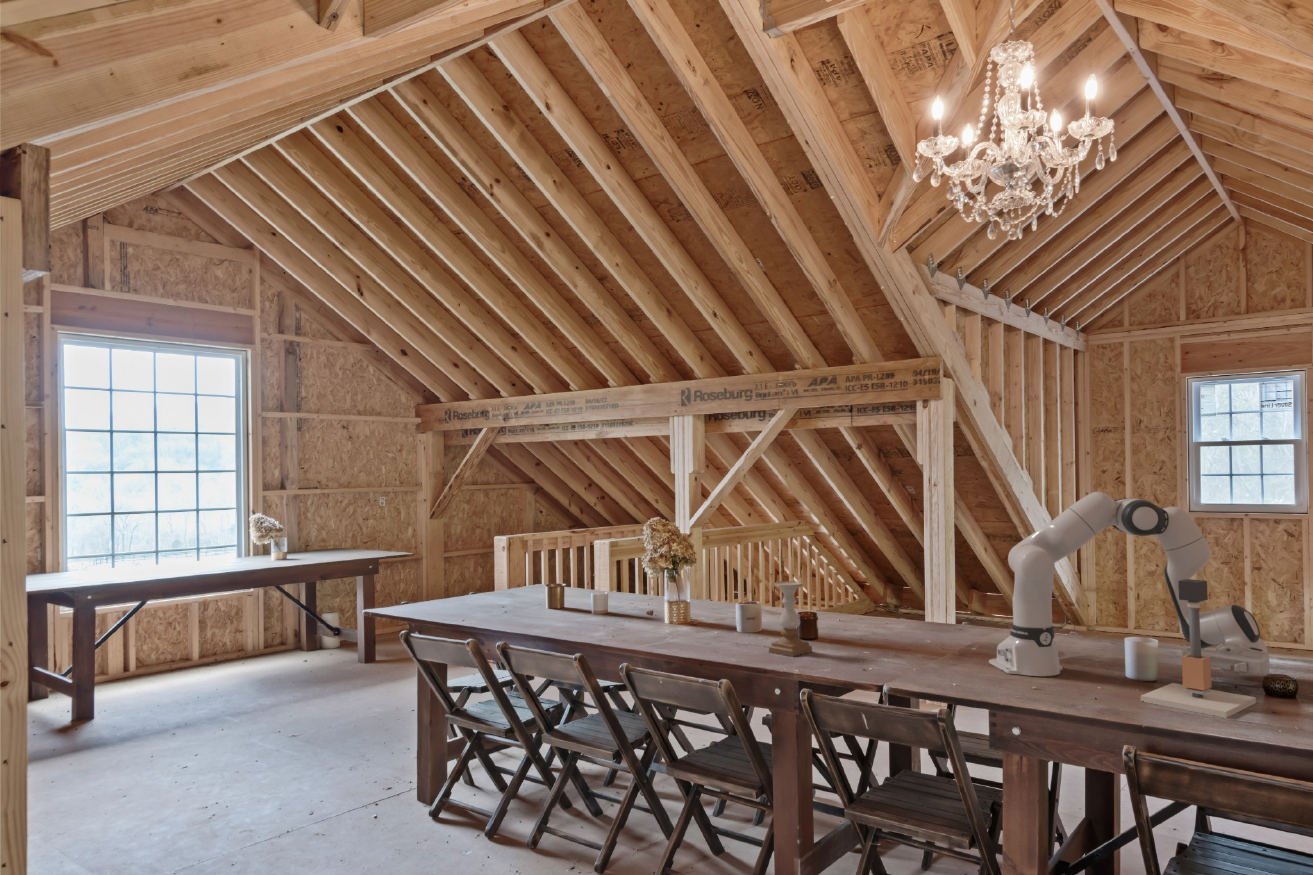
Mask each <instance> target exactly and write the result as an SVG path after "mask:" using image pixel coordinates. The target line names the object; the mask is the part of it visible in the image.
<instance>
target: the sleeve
mask: <svg viewBox="0 0 1313 875" xmlns="http://www.w3.org/2000/svg"><path fill="white" fill-rule="evenodd" d="M1181 673H1182V674H1181V677H1182V685H1183V687H1187V688H1193V689H1198V690H1206V689H1211V688H1212V686H1213V685H1212V667H1211V662H1210V657H1209V656H1202V655H1201V659H1200V658H1193V657H1191V655H1190V654H1187V655H1184V656H1182V655H1181Z"/></svg>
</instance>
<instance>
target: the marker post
mask: <svg viewBox="0 0 1313 875" xmlns="http://www.w3.org/2000/svg"><path fill="white" fill-rule="evenodd" d="M1178 585H1179V600H1187V601H1188V609H1189V632H1190V643H1189V648H1190V655H1191V657H1193V658H1200V659H1201V640H1200V617H1199V612H1200V608H1201V606H1200V604H1201V602H1204V601H1208V598H1209V597H1208V581H1207V580H1204V579H1203V580H1202V579H1191V578H1190V579H1184V580H1180V581H1178ZM1142 701H1144V702H1143V703H1148V704H1154V705H1157V704H1158V706H1162V707H1167V708H1168V707H1169V708H1173V709H1178V710H1184V711H1189V712H1194V713H1198V714H1203V713H1204V715H1209V716H1213V715H1215V716H1214V717H1219V718H1224V719H1227V718H1229V717H1231V716H1233V715H1235V714H1237V713H1239V712H1241V711H1243V710H1245V709H1247V708H1249V707H1251V706H1253V705H1255V704H1256V703H1257V698H1256V697H1254V696H1250V695H1249V696H1248V695H1244V694H1240V693H1231V692H1225V691H1221V690H1215V689H1211V688H1209V689H1206V690H1198V689H1193V688H1187V687H1183V683H1182V684H1181V683H1176V682H1171V683H1169V684H1166V685H1164V686H1161V687H1159V688H1156V689H1154V690H1152V691H1148V692H1146V693H1144V694H1142V695H1140V702H1142Z"/></svg>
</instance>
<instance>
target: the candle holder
mask: <svg viewBox="0 0 1313 875" xmlns="http://www.w3.org/2000/svg"><path fill="white" fill-rule="evenodd" d="M773 586H774V587H775V588H779V589H780V590H781V592H782V593H783V598H782V600H781V603H782V604H783V606H784V609H783V612H782V613H781V615H780V617H779V619H778V624H779V626H781V628H782V629H781V631H780V633H781V635H782V637H780V638H779V639H778V640H776V641H772V643H771V645H770V646H768V653H771V654H775V653H776V654H777V655H780V654H783V655H782V656H785V655H786V657H791V656H795V657H798V656H797V655H799V656H801V655H800V654H803V655H806V654H809V653H812V652H813V647H812V645H810V644H809V642H808V641H806V640H805V641H804V640H802V639H801V638H800V637H798V635H799V633H800V631H799V630H798V629H797V628H798V627H799V626H800V625H801V619H800V616H799V615H798V613H797V612H796V609H795V606H796V603H797V600H796V598H795V593H796V592H797V589H798V588H802V587H804V583H803V582H800V581H788V580H785V581H784V580H783V581H776V582H774V583H773ZM805 653H806V654H805Z"/></svg>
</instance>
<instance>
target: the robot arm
mask: <svg viewBox="0 0 1313 875" xmlns="http://www.w3.org/2000/svg"><path fill="white" fill-rule="evenodd" d="M1108 527H1113V528H1114V529H1116V530H1118V531H1120V532H1123V533H1125V534H1127V535H1131V536H1137V537H1138V536H1139V537H1147V536H1148V537H1149V536H1154V537H1155V538H1156V539H1157V540H1158V541H1159V543H1160V545H1161V547H1162V548H1163V550H1164V553H1165V554H1166V558H1167V565H1166V566H1165V567H1164V570H1163V574H1164V578H1165V582H1166V585H1167V588H1168V590H1169V594H1170V596H1171V600H1172V602H1173V605H1174V608H1175V610H1176V613H1177V616H1178V619H1179V622H1180V628H1181V631H1182V634H1183V637H1184V640H1185V641H1186V642H1187V643H1188V644H1190V632H1189V609H1188V601H1187V600H1179V585H1178V581H1180V580H1184V579H1191V578H1192V577H1194V576H1195V575H1196V574H1198V573H1199V572H1200V571H1201V570H1203V568H1205V566H1206V565H1207V564H1208V562H1209V560H1210V558H1211V548H1210V546H1209V543H1208V541H1207V540H1206V538H1205V536H1204V535H1203V533H1202V531H1201V530H1200V528H1199V527H1198V525H1197V524H1196V523H1195V521H1194V520H1193V518H1192V517H1191V516H1190V515H1189V514H1188V513H1187V511H1186V510H1184V509H1183V507H1182V508H1181V507H1179V506H1167V507H1166V506H1165V507H1163V508H1161V507H1160V506H1158V505H1157V504H1155V503H1153V502H1151V501H1149V500H1147V499H1146V500H1145V499H1141V498H1137V497H1136V498H1135V497H1133V498H1132V497H1130V498H1126V497H1125V498H1120V499H1113V498H1112V497H1111V496H1110V495H1109V494H1107V493H1104V492H1101V491H1093V492H1091V493H1089V494H1087V495H1085V496H1084V497H1082V498H1081V499H1079V500H1077V501H1075V502H1074V503H1073V504H1071V505H1070V506H1069V507H1067V508H1066V509H1064V511H1062V512H1061V513H1059V515H1057V516H1056V517H1055V518H1053V520H1051V521H1049V522H1048V523H1047V524H1046V525H1044V526H1043V527H1041V528H1039V529H1037V530H1036V531H1034V532H1033V533H1032V534H1030V535H1029V536H1026V538H1024V539H1022V540H1021V541H1020V542H1018V543H1017V544H1016V545H1013V547H1012V548H1011V549H1010V551H1009V553H1008V555H1007V556H1008V557H1007V562H1008V566H1009V567H1010V569H1011V571H1012V572H1013V573H1014V587H1013V595H1012V619H1013V620H1012V622H1013V623H1012V624H1007V625H1008V629H1010V631H1009V635H1008V636H1007V637H1006V638H1005V639H1003V641H1002V642H1000V643H999V644H998V645H997V647H996V657H994V658H991V659H989V660H988V664H990V665H992V666H994V667H996V668H997V669H998V670H1001V671H1002V670H1003V672H1005V673H1006V674H1010V675H1011V674H1012V675H1023V676H1033V677H1053V676H1054V677H1055V676H1057V675H1060V674H1061V671H1062V670H1063V666H1062V665H1060V660H1059V652H1058V645H1057V643H1056V641H1055V640H1054V638H1055V633H1056V632H1055V626H1054V625H1053V608H1052V607H1053V605H1052V602H1053V601H1052V599H1053V590H1054V581H1055V580H1054V576H1055V569H1056V568H1055V567H1056V566H1055V565H1056V563H1057V562H1059V561H1060V560H1062V559H1064V558H1066V557H1067V556H1069V555H1071V554H1074V553H1075V552H1076V551H1078V550H1079V549H1080V548H1082V547H1083V546H1084V545H1085V544H1087V543H1088V542H1089V541H1091V540H1092V539H1094V538H1095V536H1097V535H1098V534H1099V533H1100V532H1102V531H1103V530H1106V528H1108ZM1199 617H1200V640H1201V655H1202V656H1209V657H1210V662H1211V668H1216V669H1220V670H1222V671H1223V672H1225V673H1227V674H1230V675H1239V674H1243V675H1244V674H1253V675H1259V676H1266V675H1268V674H1270V656H1269V655H1270V654H1269V651H1268V647H1267V645H1266V643H1265V642H1264V641H1263V639H1262V638H1261V637H1260V636H1261V632H1260V628H1259V625H1258V622H1257V620H1256V618H1255V617H1254V616H1253V614H1252V613H1251V612H1250V611H1248V610H1247V609H1245V608H1244V607H1243V606H1240V605H1238V604H1231V605H1226V606H1221V607H1218V608H1215V609H1210V610H1206V611H1203V612H1200V611H1199ZM1215 645H1217V646H1216V647H1215V648H1214V649H1211V648H1210V649H1208V648H1209V647H1212V646H1215ZM1187 654H1190V647H1187V648H1184V649H1182V650H1181V657H1182V656H1184V655H1187Z"/></svg>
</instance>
